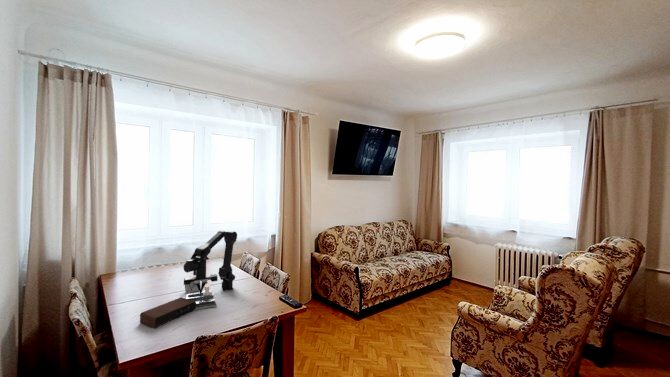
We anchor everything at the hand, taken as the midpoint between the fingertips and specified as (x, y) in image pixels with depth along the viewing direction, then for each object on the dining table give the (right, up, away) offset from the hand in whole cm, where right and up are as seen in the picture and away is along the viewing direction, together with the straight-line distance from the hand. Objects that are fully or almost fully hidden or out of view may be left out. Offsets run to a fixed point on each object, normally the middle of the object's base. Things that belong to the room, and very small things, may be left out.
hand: (200, 293), depth 176 cm
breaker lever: (+3, -2, +2) cm, 4 cm away
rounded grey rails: (+5, -5, -11) cm, 13 cm away
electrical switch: (-13, -4, +14) cm, 19 cm away
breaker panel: (0, -5, 0) cm, 5 cm away
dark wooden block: (-7, -5, -22) cm, 23 cm away
